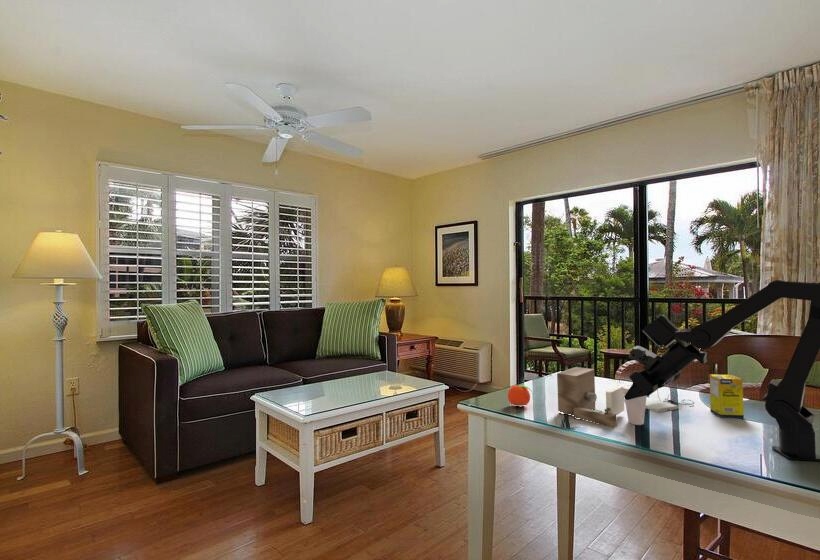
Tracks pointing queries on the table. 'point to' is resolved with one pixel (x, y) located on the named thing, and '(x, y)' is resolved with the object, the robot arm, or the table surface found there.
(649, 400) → the external hard drive
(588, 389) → the brown blocky piece
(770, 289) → the robot arm
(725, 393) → the supplement box
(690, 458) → the table surface
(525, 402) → the clementine
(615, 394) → the cream flat box
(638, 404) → the smoothie
